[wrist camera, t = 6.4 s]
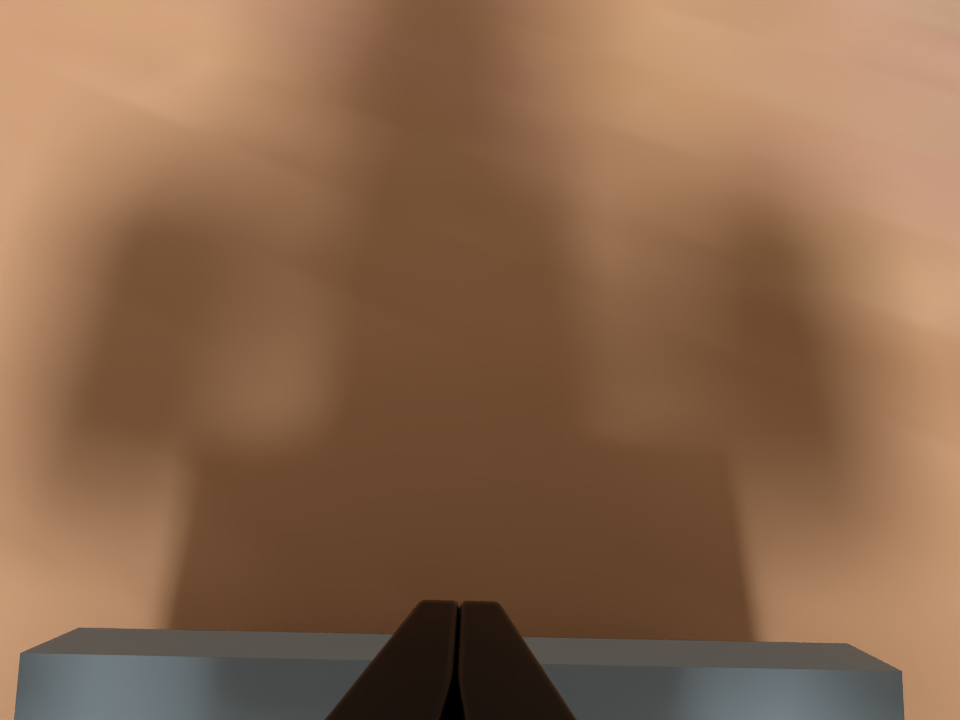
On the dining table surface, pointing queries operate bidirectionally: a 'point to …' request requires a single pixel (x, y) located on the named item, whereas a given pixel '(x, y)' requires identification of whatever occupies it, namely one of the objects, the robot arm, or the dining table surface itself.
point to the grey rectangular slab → (344, 656)
